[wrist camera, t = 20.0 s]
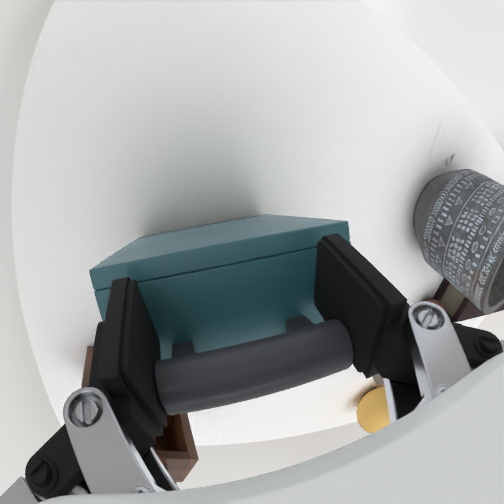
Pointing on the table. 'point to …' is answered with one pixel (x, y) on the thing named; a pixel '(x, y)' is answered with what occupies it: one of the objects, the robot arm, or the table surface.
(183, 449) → the walnut shelf
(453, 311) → the book
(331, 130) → the table surface
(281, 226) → the teal shelf
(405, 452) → the robot arm
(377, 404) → the stress ball
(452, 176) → the planter
